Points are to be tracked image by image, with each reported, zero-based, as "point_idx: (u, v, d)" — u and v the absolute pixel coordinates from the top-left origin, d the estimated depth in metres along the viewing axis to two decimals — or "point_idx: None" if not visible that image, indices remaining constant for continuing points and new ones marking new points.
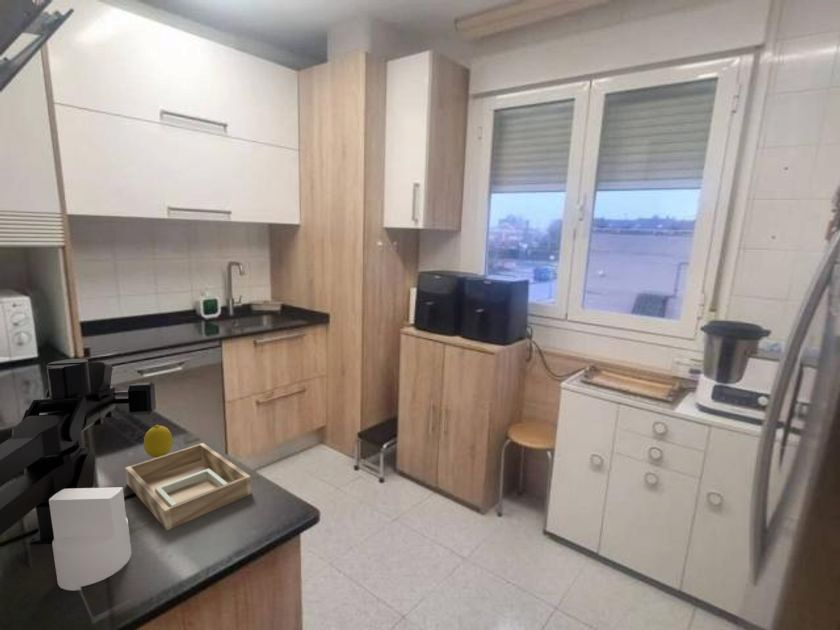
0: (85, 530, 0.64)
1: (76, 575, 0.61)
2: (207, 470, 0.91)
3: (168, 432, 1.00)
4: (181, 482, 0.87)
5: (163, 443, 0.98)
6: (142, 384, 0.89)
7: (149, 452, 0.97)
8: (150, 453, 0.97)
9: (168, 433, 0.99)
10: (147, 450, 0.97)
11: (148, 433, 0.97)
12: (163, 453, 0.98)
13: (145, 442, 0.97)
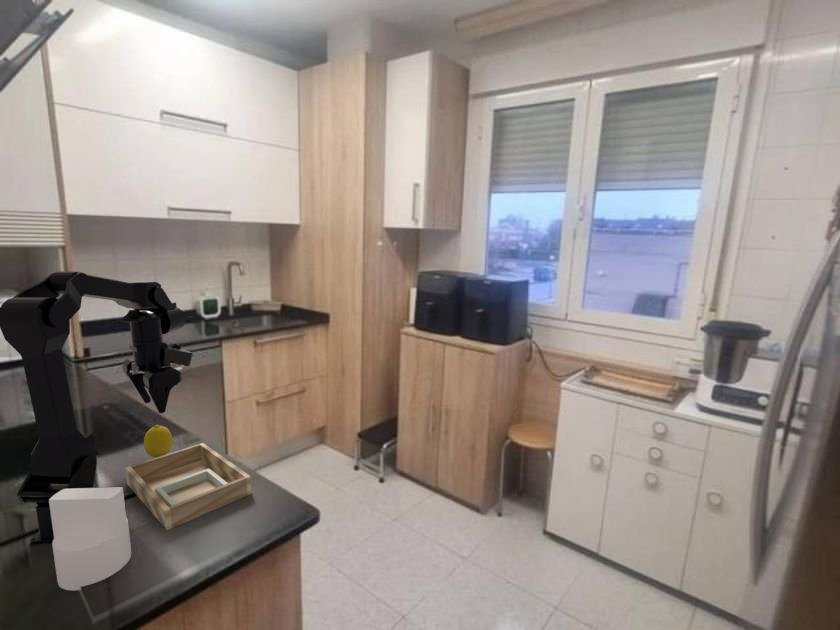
0: (85, 530, 0.64)
1: (76, 575, 0.61)
2: (207, 470, 0.91)
3: (168, 432, 1.00)
4: (181, 482, 0.87)
5: (163, 443, 0.98)
6: None
7: (149, 452, 0.97)
8: (150, 453, 0.97)
9: (168, 433, 0.99)
10: (147, 450, 0.97)
11: (148, 433, 0.97)
12: (163, 453, 0.98)
13: (145, 442, 0.97)
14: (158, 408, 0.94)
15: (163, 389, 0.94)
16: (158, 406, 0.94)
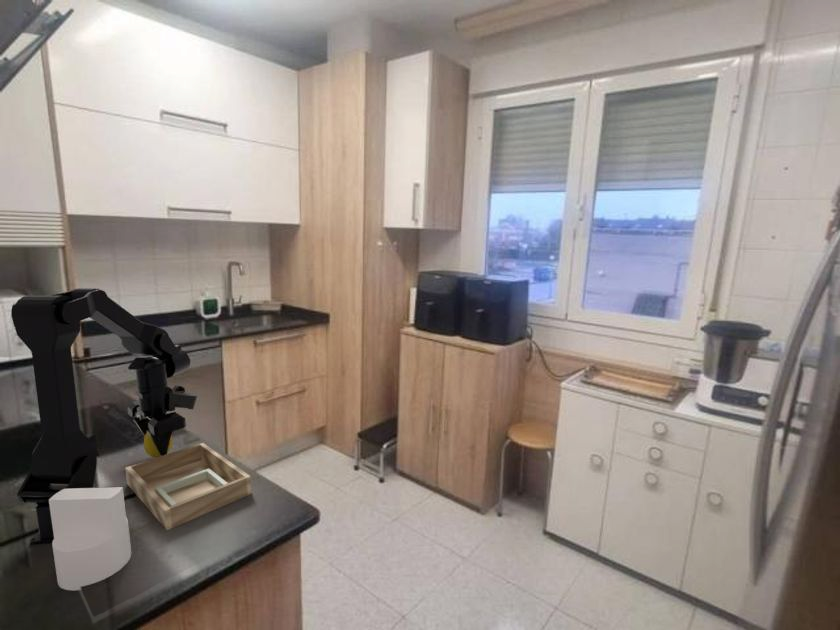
0: (85, 530, 0.64)
1: (76, 575, 0.61)
2: (207, 470, 0.91)
3: None
4: (181, 482, 0.87)
5: None
6: None
7: (149, 452, 0.97)
8: (150, 453, 0.97)
9: None
10: (147, 450, 0.97)
11: None
12: None
13: (145, 442, 0.97)
14: (160, 451, 0.97)
15: (165, 432, 0.96)
16: (160, 449, 0.96)
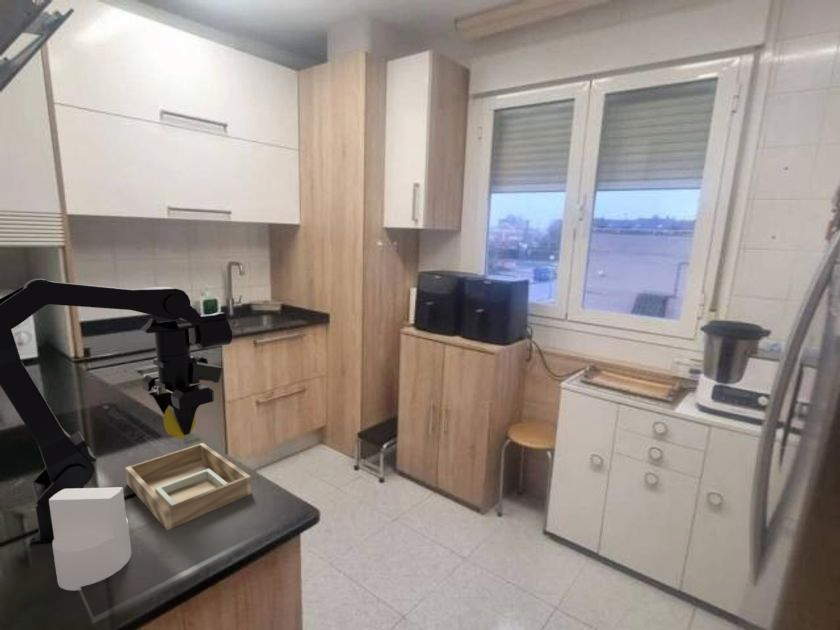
0: (85, 530, 0.64)
1: (76, 575, 0.61)
2: (207, 470, 0.91)
3: None
4: (181, 482, 0.87)
5: None
6: None
7: (170, 431, 0.84)
8: (171, 432, 0.84)
9: None
10: (168, 428, 0.84)
11: (169, 409, 0.84)
12: None
13: (165, 419, 0.84)
14: (183, 429, 0.83)
15: (189, 408, 0.83)
16: (183, 427, 0.83)
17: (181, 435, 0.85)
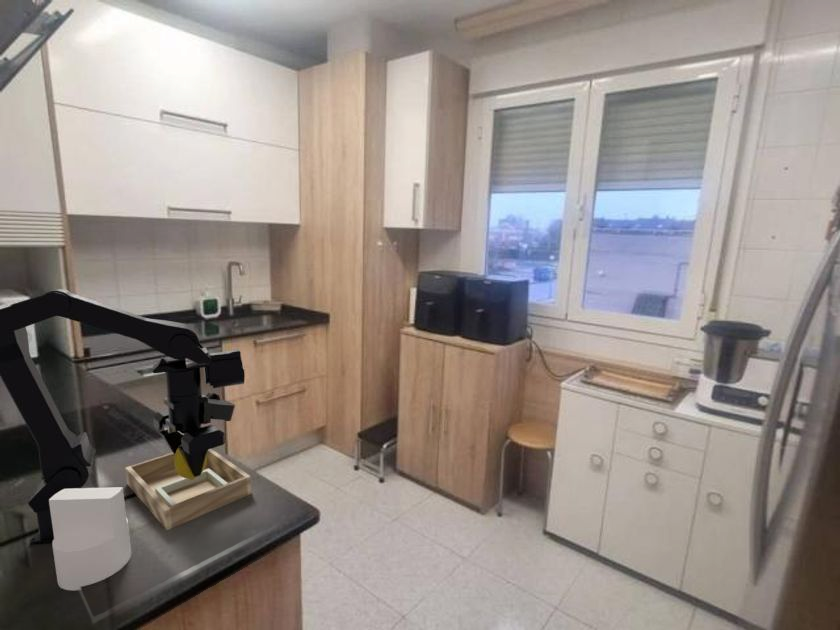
0: (85, 530, 0.64)
1: (76, 575, 0.61)
2: (207, 470, 0.91)
3: None
4: (181, 482, 0.87)
5: None
6: None
7: (181, 472, 0.81)
8: (182, 474, 0.81)
9: None
10: (178, 470, 0.81)
11: (179, 450, 0.82)
12: None
13: (176, 460, 0.81)
14: (193, 471, 0.81)
15: None
16: (193, 469, 0.81)
17: (192, 476, 0.82)
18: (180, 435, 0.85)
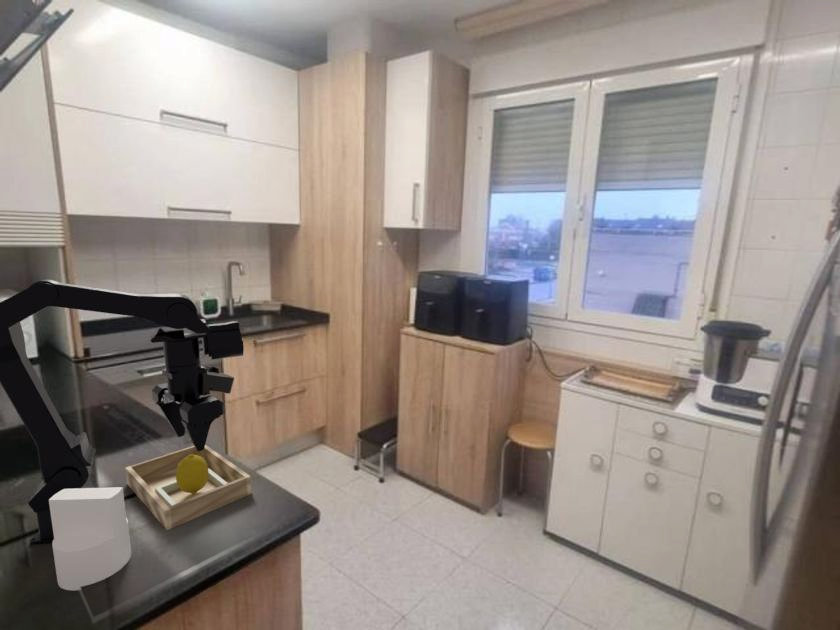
0: (85, 530, 0.64)
1: (76, 575, 0.61)
2: None
3: (204, 462, 0.84)
4: None
5: (199, 476, 0.82)
6: None
7: (182, 487, 0.82)
8: (184, 488, 0.82)
9: (204, 464, 0.84)
10: (180, 485, 0.82)
11: (181, 464, 0.82)
12: (199, 488, 0.83)
13: (178, 475, 0.82)
14: (196, 445, 0.79)
15: (202, 423, 0.79)
16: (196, 443, 0.79)
17: (194, 491, 0.83)
18: (176, 405, 0.85)
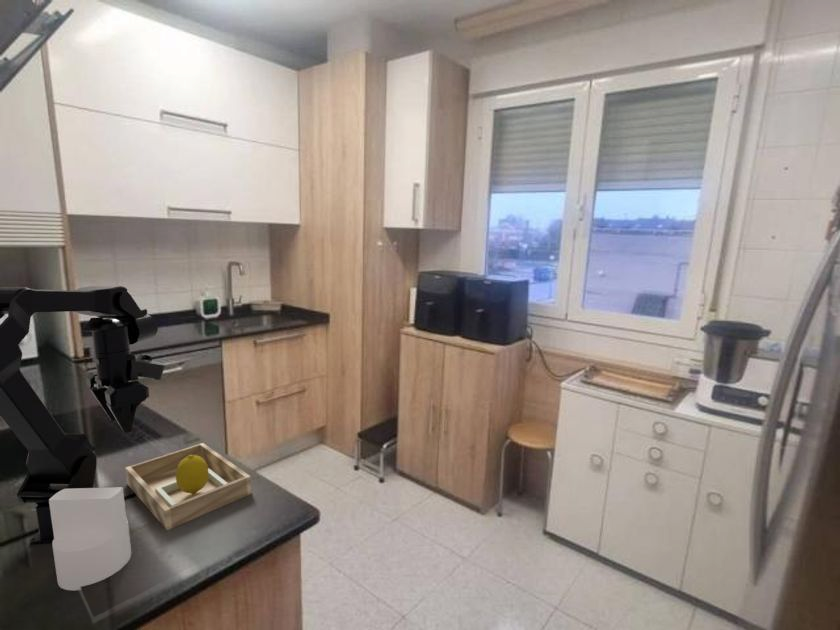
0: (85, 530, 0.64)
1: (76, 575, 0.61)
2: None
3: (204, 463, 0.84)
4: None
5: (199, 476, 0.82)
6: None
7: (182, 488, 0.82)
8: (184, 489, 0.82)
9: (204, 464, 0.84)
10: (180, 485, 0.82)
11: (181, 465, 0.82)
12: (199, 488, 0.83)
13: (178, 476, 0.82)
14: (123, 427, 0.84)
15: (128, 406, 0.84)
16: (123, 425, 0.84)
17: (194, 491, 0.83)
18: None
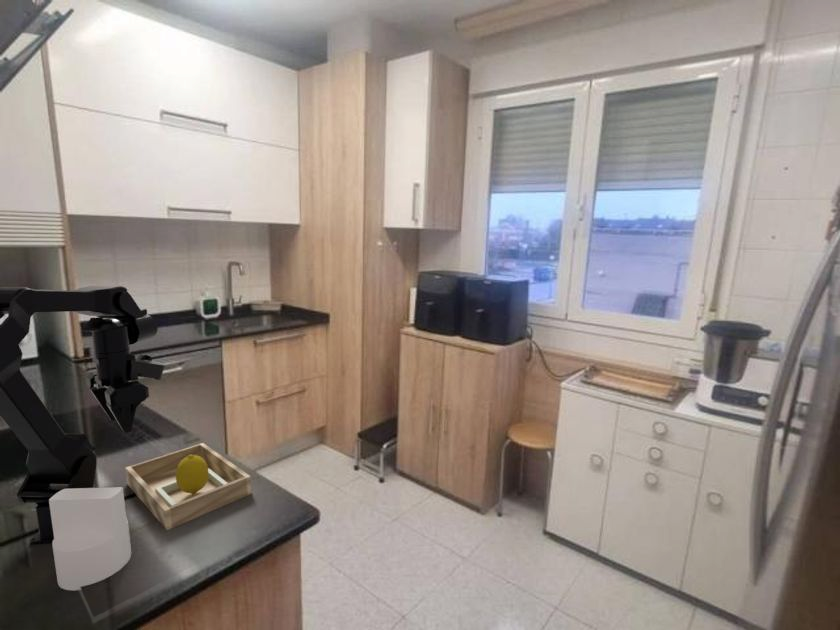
0: (85, 530, 0.64)
1: (76, 575, 0.61)
2: None
3: (204, 463, 0.84)
4: None
5: (199, 476, 0.82)
6: None
7: (182, 488, 0.82)
8: (184, 489, 0.82)
9: (204, 464, 0.84)
10: (180, 485, 0.82)
11: (181, 465, 0.82)
12: (199, 488, 0.83)
13: (178, 476, 0.82)
14: (123, 427, 0.84)
15: (128, 406, 0.84)
16: (123, 425, 0.84)
17: (194, 491, 0.83)
18: None
